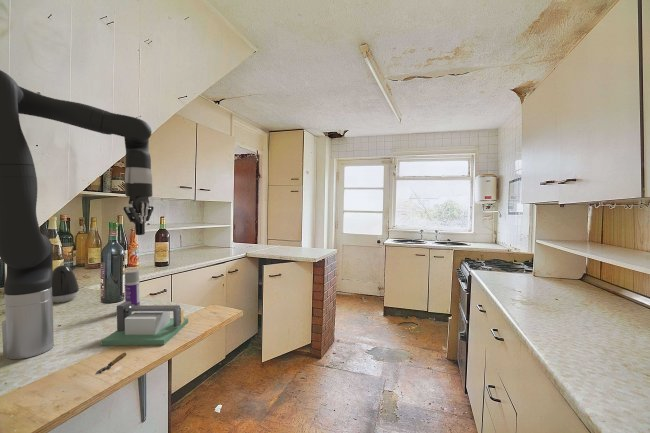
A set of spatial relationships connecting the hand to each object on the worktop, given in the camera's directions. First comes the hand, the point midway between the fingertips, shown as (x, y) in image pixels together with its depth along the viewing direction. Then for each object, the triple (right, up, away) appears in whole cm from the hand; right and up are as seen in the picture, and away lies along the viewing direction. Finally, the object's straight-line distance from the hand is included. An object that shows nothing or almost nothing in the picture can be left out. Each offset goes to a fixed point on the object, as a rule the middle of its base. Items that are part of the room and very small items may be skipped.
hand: (140, 234), depth 96 cm
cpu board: (+5, -31, -3) cm, 32 cm away
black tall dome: (-49, -30, +26) cm, 63 cm away
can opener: (+6, -33, -21) cm, 39 cm away
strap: (+6, -29, -4) cm, 30 cm away
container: (-14, -30, +17) cm, 37 cm away
